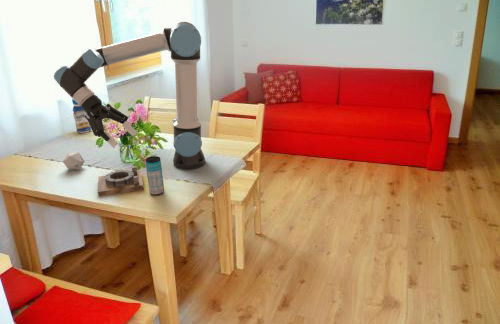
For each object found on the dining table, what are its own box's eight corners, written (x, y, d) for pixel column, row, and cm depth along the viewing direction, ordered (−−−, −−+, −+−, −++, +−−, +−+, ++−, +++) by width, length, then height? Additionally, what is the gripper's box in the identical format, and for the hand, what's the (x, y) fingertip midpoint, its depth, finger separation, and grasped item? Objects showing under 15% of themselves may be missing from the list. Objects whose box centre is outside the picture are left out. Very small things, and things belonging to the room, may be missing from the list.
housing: (141, 174, 187) (139, 164, 185) (143, 189, 173) (142, 178, 171) (99, 180, 183) (97, 170, 181) (98, 196, 168) (96, 185, 166)
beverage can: (166, 190, 172) (162, 156, 166) (160, 196, 167) (156, 162, 161) (153, 188, 174) (149, 155, 168) (147, 195, 168) (142, 161, 162)
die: (73, 175, 190) (83, 157, 190) (56, 166, 190) (67, 147, 190) (80, 174, 198) (90, 156, 198) (64, 165, 198) (74, 147, 198)
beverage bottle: (94, 128, 252) (88, 96, 244) (86, 133, 244) (80, 100, 236) (81, 128, 253) (75, 96, 245) (73, 132, 246) (67, 99, 238)
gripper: (102, 99, 176) (137, 135, 177) (61, 115, 154) (101, 156, 155) (111, 87, 172) (147, 124, 174) (70, 102, 150) (112, 144, 152)
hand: (125, 140), depth 165 cm, fingers open, 13 cm apart
